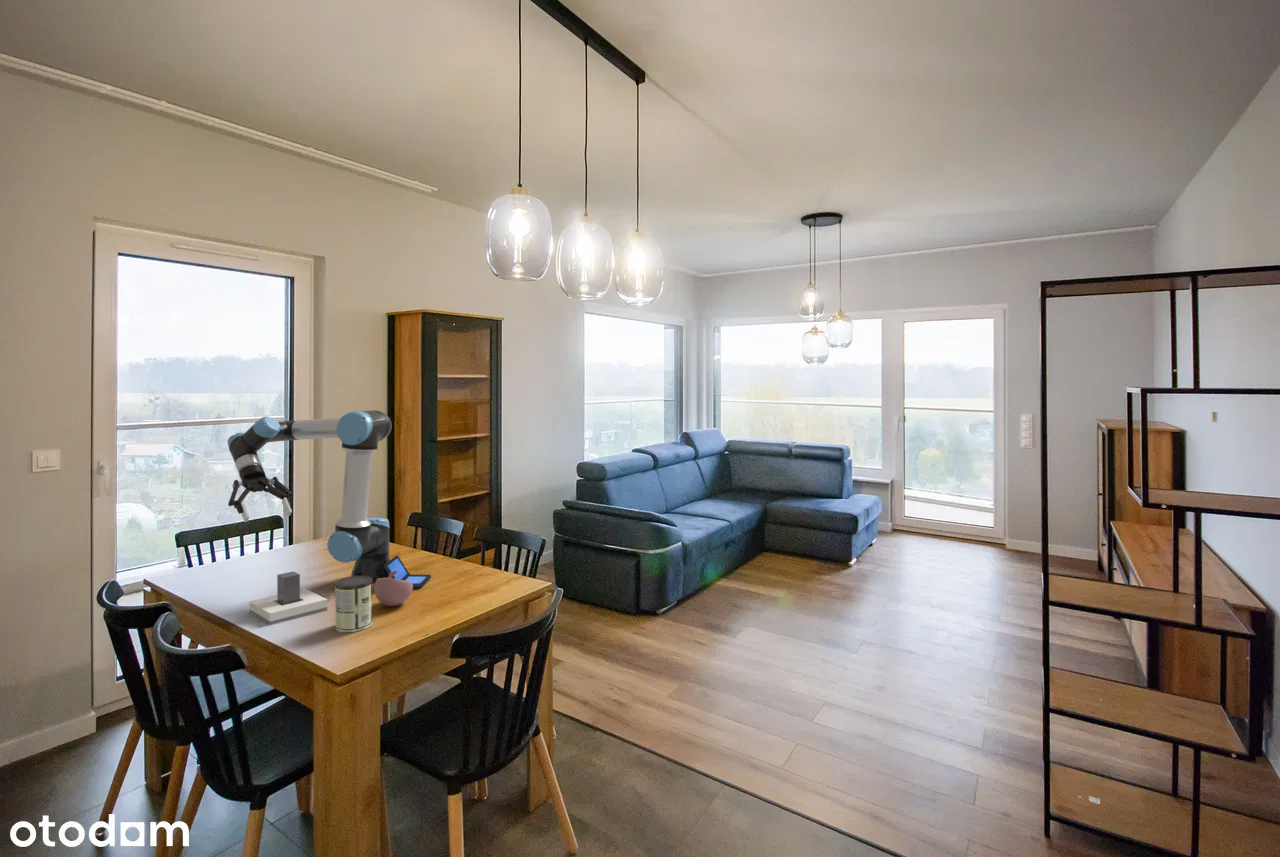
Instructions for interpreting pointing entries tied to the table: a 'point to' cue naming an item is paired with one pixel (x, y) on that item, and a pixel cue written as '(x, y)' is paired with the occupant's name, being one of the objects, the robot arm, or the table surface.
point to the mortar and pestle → (392, 590)
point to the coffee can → (353, 603)
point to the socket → (287, 607)
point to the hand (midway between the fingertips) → (269, 516)
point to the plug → (288, 588)
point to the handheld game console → (405, 573)
